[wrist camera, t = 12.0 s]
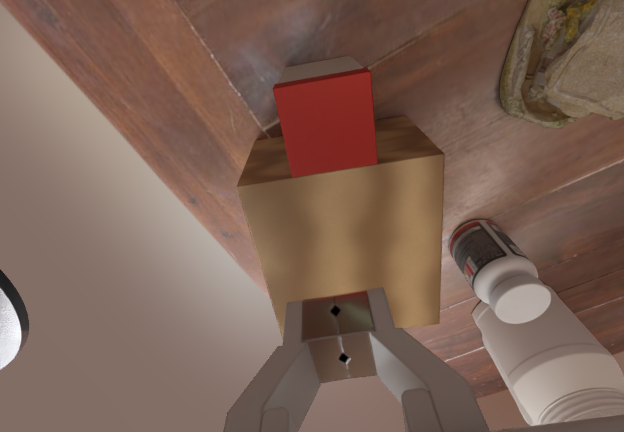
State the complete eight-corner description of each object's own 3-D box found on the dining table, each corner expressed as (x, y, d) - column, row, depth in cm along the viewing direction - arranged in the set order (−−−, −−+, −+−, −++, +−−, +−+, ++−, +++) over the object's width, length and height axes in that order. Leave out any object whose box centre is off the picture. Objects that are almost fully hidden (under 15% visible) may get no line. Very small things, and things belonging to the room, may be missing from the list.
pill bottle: (445, 263, 40) (484, 331, 31) (449, 220, 37) (493, 283, 28) (496, 257, 39) (549, 325, 31) (504, 214, 37) (565, 275, 28)
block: (288, 272, 40) (283, 343, 31) (254, 140, 32) (236, 186, 23) (410, 255, 39) (439, 324, 30) (406, 114, 31) (444, 153, 23)
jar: (559, 331, 46) (660, 456, 33) (487, 354, 48) (555, 480, 35) (546, 271, 41) (659, 391, 28) (465, 300, 43) (535, 424, 30)
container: (291, 177, 23) (272, 88, 20) (295, 133, 32) (282, 66, 29) (378, 164, 23) (371, 70, 20) (358, 123, 31) (351, 53, 29)
